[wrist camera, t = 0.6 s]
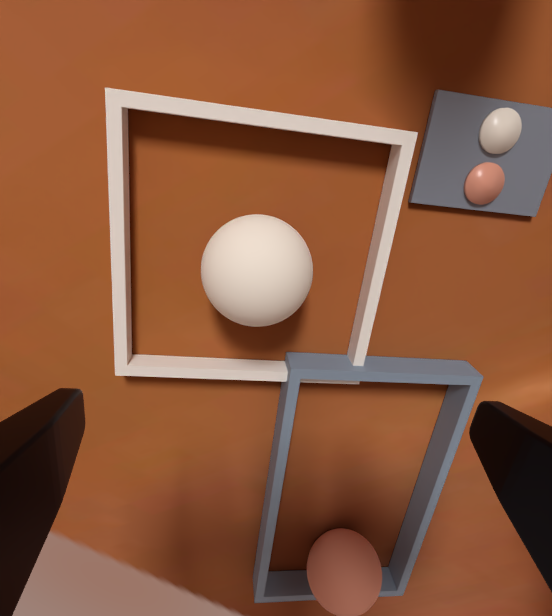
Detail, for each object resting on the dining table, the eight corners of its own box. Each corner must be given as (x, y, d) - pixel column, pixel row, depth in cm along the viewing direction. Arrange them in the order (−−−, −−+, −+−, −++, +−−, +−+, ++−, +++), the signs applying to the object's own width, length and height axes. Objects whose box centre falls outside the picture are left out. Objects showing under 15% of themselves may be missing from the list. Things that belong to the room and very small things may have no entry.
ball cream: (308, 211, 20) (334, 234, 15) (294, 304, 22) (313, 349, 17) (206, 200, 19) (200, 220, 14) (200, 298, 21) (194, 343, 16)
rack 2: (466, 360, 25) (483, 376, 23) (393, 571, 32) (402, 595, 30) (286, 351, 23) (291, 368, 21) (252, 577, 30) (254, 603, 28)
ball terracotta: (374, 511, 29) (402, 582, 24) (360, 559, 31) (384, 633, 26) (306, 512, 28) (322, 585, 23) (296, 561, 30) (309, 637, 25)
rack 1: (406, 132, 19) (417, 132, 18) (352, 373, 24) (359, 384, 23) (112, 90, 17) (105, 87, 16) (120, 363, 22) (115, 375, 21)
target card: (568, 112, 19) (576, 111, 19) (531, 215, 21) (538, 217, 21) (435, 90, 18) (440, 89, 18) (408, 201, 20) (412, 203, 20)
